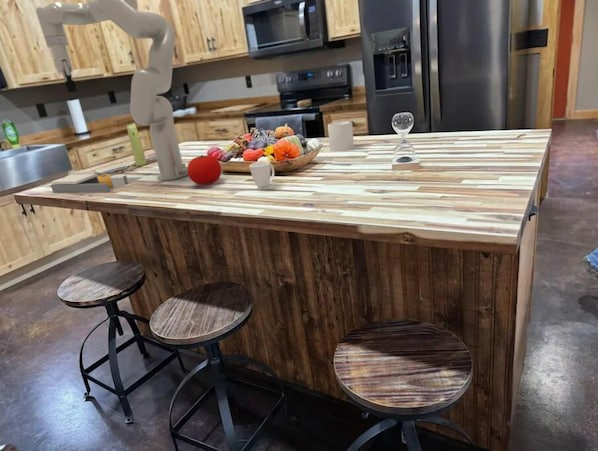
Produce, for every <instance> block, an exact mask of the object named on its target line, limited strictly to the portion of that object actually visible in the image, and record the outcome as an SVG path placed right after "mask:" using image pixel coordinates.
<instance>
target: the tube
mask: <svg viewBox="0 0 598 451" xmlns="http://www.w3.org/2000/svg"><path fill="white" fill-rule="evenodd" d="M126 129H127V134H128V138H129V143H130V147H131V151H132V154H133V157H134V162H135V165H136V166H138V167H141V166H144V165H146V164H147V163H148V162H147V159H146V157H145V156H146V155H145V152H144V148H143V144H142V142H141V138H140V135H139V132H138V128H137V125H136V122H133V123H130V124H127V125H126Z"/></svg>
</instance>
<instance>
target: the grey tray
mask: <svg viewBox="0 0 598 451" xmlns="http://www.w3.org/2000/svg"><path fill="white" fill-rule="evenodd" d="M97 177H98V176H96V177H94V178H91V179H88V180H86V181H83V182H80V183H78V184H50V187H51V189H52V193H53V194H54V193H56V194H57V193H59V194H61V193H62V194H63V193H65V194H66V193H68V194H69V193H78V194H79V193H110V192H112V191H114V190H117V189H119V188H122V187H124V186H126V185H128V184H132V183H133V182H135V181H136V182H137V181H138V180H140V179H143V177H141V176H140V177H137V176H136V177H135V176H134V177H127V175H123V176H122V177H111V180H112V183H113V187H112V188H110V189H109V187H108V184H107V183H105V184H99V181H98V178H97Z"/></svg>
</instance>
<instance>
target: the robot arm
mask: <svg viewBox="0 0 598 451" xmlns="http://www.w3.org/2000/svg"><path fill="white" fill-rule="evenodd" d="M138 7H139V6H138V1H137V0H87V2H79V3H75V2H67V1H66V2H65V1H53V2H50V3H49V4H46V5H40V6H36V9H35V14H36V16H37V19H38V21H39V25H40V28H41V32H42V35H43V37H44V40H45V43H46V44H45V45H46V46H47V48H50V50H51V54H52V57H53V61H54V65H55V67H56V71H57V74H58V75H61V74H62V77H63V79H64V83H65V84H64V85H65V87H66V90H67V93H74V92H77V91H78V90H77V87H76V82H75V80H74V78H73V74H72V72H74V71H73V65H72V61H71V58H70V54H69V52H68V49H67V46H69V41H68V37H67V35H66V31H65V28H64V26H69V25H71V26H86V25H92V24H99V23H101V22H106V21H111V22H112V23H114V25H116V26H117V27H118V28H119V29H121V30H122V31H123V32H124V33H126V34H127V35H128V36H129V37H132V38H134V39H138V40H139V39H140V40H142V39H143V40H144V39H148V40H149V39H151V40H152V43H151V45H150V47H149V50H148V61H147V67H142V68H140V69H137V70H136V71H135V72H134V74H133V76H132V78H131V84H130V85H131V86H130V87H131V88H130V106H129V107H130V115H131V117H132V119H133V121H134V123H135V124H137V125H138V126H143V127H145V126H146V127H147V126H149V134H150V138H151V142H152V147H153V150H154V155H155V159H156V163H157V167H158V169H159V173H160V174H158V175H157V176H156V179H157V181H162V182H163V181H165V182H167V181H174V180H178V179H182V178H184V177H187V176H189V175H188V166H186V163H184V162H183V158H182V154H181V149H180V147H179V146H180V145H179V142H178V137H177V133H176V128H175V122H174V112H173V111H174V110H173V107H172V106H173V105H172V104H171V102H170V101H169V99H167V98H166V97H164V96H161V95H162V94H165V93H167V92H168V91H169V90H170V89H171V86H172V77H173V65H174V53H175V45H176V35H175V30H174V28H173V26H172V24H171V23H170V21H169V20H168V19H167V18H165V17H164V16H162V15H161V14H159V13H155V12H149V11H139V10H138Z"/></svg>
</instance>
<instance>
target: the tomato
mask: <svg viewBox="0 0 598 451" xmlns="http://www.w3.org/2000/svg"><path fill="white" fill-rule="evenodd" d="M187 167H188V175H187V176H188V177H189V179H190V180H191V181H192V182H193V183H195V184H197V185H211V184H214V183H216V182H217V181H219V179H220V177H221V176H222V166H221V163H220V161H219V160H218V158H217V157H215V156H213V155H209V154H207V155H203V154H200V156H197V157H194V158H193V159H191V160H190V161H189V162H188V165H187Z"/></svg>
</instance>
